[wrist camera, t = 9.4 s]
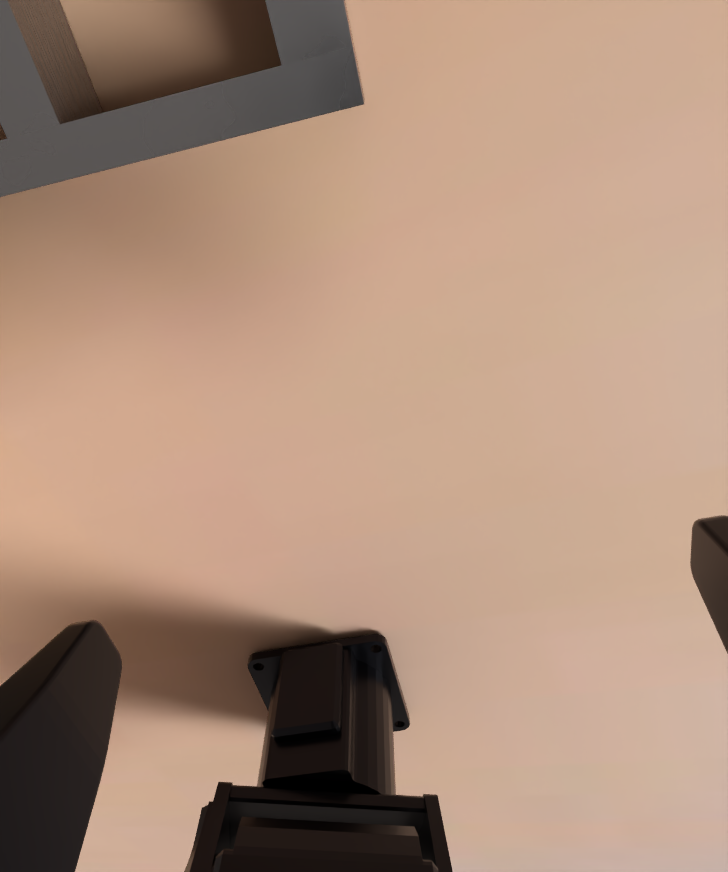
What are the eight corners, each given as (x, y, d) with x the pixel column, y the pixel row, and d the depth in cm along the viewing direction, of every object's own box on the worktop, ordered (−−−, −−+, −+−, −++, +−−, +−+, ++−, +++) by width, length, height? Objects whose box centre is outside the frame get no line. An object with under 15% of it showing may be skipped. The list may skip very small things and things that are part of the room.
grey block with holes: (364, 98, 17) (364, 104, 15) (-141, 227, 19) (-219, 252, 17) (283, -310, 14) (263, -399, 11) (-342, -99, 15) (-484, -133, 13)
